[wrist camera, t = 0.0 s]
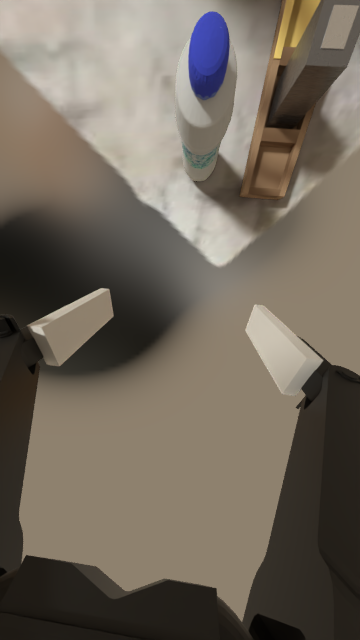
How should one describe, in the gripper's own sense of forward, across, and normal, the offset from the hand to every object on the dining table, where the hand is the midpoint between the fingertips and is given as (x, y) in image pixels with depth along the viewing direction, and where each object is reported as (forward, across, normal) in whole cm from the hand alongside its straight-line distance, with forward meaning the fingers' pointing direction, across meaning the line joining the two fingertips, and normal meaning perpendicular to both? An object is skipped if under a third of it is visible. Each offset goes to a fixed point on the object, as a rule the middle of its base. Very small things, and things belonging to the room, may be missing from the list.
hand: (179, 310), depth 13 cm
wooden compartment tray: (+28, +13, +26) cm, 41 cm away
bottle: (+28, 0, +19) cm, 34 cm away
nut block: (+27, +13, +26) cm, 40 cm away
